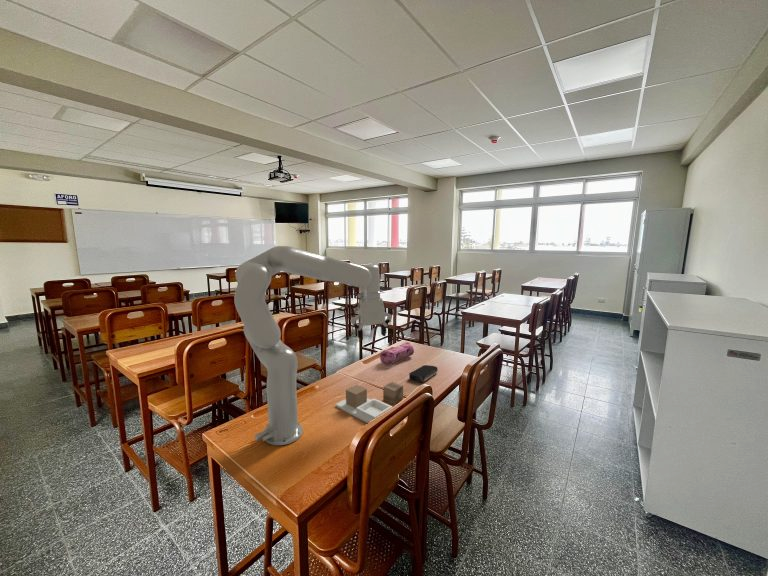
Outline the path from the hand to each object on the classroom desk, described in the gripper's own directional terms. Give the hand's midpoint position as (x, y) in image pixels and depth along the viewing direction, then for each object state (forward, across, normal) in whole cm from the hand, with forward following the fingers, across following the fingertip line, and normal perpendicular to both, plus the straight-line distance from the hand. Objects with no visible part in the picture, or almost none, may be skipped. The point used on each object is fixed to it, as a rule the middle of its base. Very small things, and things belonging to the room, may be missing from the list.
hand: (372, 337), depth 125 cm
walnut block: (+28, +8, -2) cm, 29 cm away
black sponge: (+30, +31, +14) cm, 45 cm away
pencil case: (+30, +27, +38) cm, 56 cm away
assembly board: (+28, -6, -6) cm, 29 cm away
